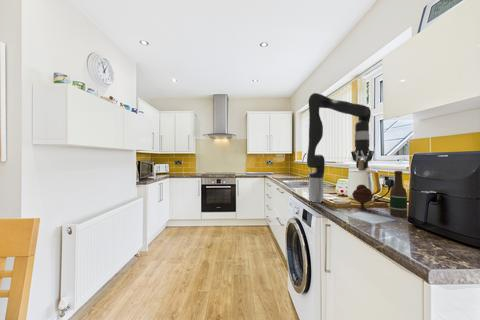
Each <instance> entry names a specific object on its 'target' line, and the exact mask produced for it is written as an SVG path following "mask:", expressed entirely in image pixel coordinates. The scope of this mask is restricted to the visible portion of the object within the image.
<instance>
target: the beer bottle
mask: <svg viewBox="0 0 480 320" xmlns="http://www.w3.org/2000/svg"><path fill="white" fill-rule="evenodd" d="M393 173H394V179H393V180H394V181H393V186H392V188H391V189H390V192H389V215H390V216H391V217H395V218H401V219H403V218H407V217H408V193H407V190H406V188H405V187H404V184H403V171H402V170H395V171H394V172H393Z"/></svg>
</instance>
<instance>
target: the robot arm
mask: <svg viewBox="0 0 480 320" xmlns="http://www.w3.org/2000/svg"><path fill="white" fill-rule="evenodd" d="M321 108H322V109H330V110H333V111H336V112H339V113H342V114H346V115H350V116H353V117H357V118H358V119H357V122H356V123H355V126H354V127H355V129H354V130H355V133H354V148H355V150H353V151H351V152H350V153H351V157H352V160H353V162H355V163H356V164H355V165H356V169H358V160H364V168H366V169H368V168H369V162H370V161H372V160H373V156H374V154H375V151H374V150H370V126H369V125H370V121H371V115H372V112H371V109H370V107H368V106H367V105H364V104H359V103H353V102H349V101H345V100H340V99H339V100H338V99H332V98H330V97H327V96H325V95H323V94H321V93H317V92H314V93H312V94H310V95H309V98H308V111H309V112H308V113H309V115H308V116H309V117H308V119H309V120H308V122H309V123H308V146H307V147H308V149H307V156H306V165H307V167H308V168H310V169H315V170H314V171H312V172H310V173H309V187H308V201H309V200H310V201H312V202H311V203H313V202H316V203H315V204H320V203H321V202H322V201H323V202H324V175H325V165H326V162H325V161H326V160H325V157H324V155H322V154H316V149H317V146H318V145H319V144H320V142H321V140H322V138H323V135H324V127H323V126H324V125H323V122H322V119H321V116H320V109H321ZM310 201H309V202H310ZM321 204H322V203H321Z"/></svg>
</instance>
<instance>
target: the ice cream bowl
mask: <svg viewBox="0 0 480 320" xmlns="http://www.w3.org/2000/svg"><path fill="white" fill-rule="evenodd" d="M373 196H374V194H372V191H371V189H370V188H369V187H367V186H366V185H365V184H363V183H362V184H358V185H357V186H356V188H355V189H354V190H353V192H352V198H353V199H354V200H355V201H356V202H357V203H359V204H360V206H359V207H357V210H360V211H368V209H367V208H366V207H365V204H367V203H369V202H371V200H372V199H373Z"/></svg>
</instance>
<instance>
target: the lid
mask: <svg viewBox="0 0 480 320" xmlns="http://www.w3.org/2000/svg"><path fill="white" fill-rule="evenodd" d="M348 172H351V173H376V172H377V170H376V169H367V168H364V159H361V160H358V168H357V169H348Z"/></svg>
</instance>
